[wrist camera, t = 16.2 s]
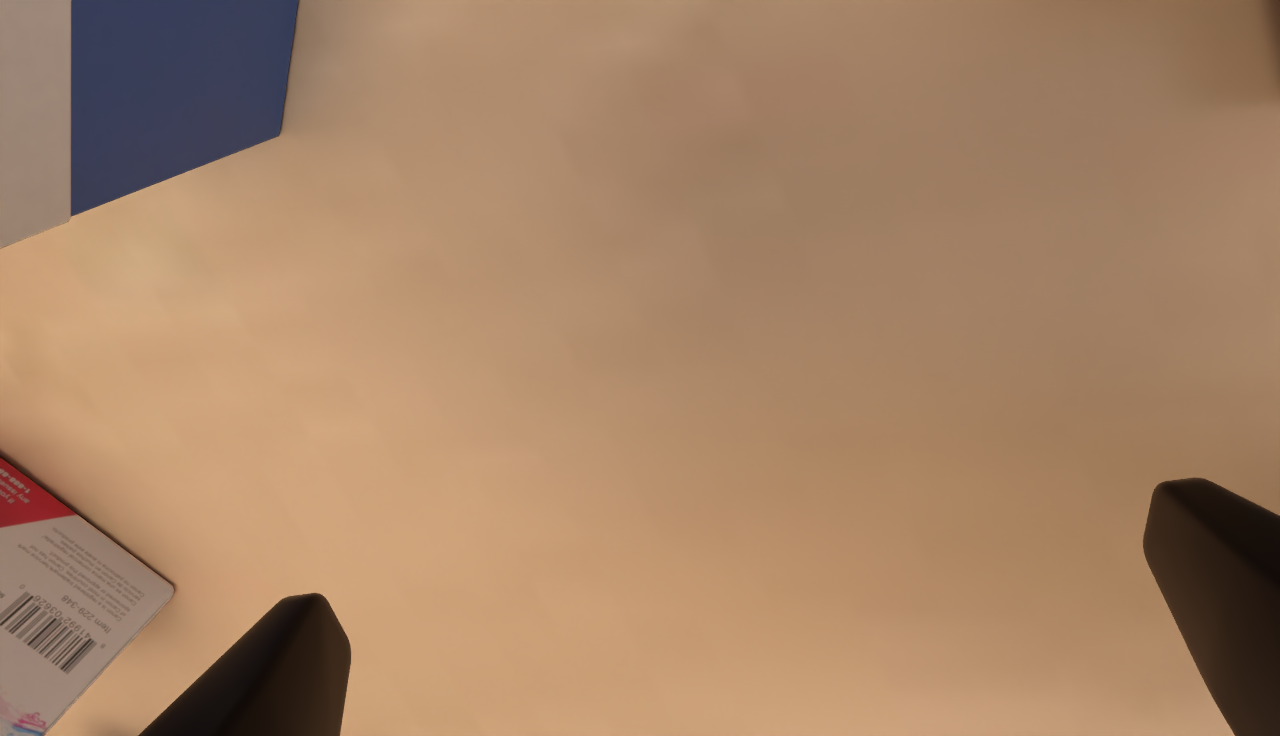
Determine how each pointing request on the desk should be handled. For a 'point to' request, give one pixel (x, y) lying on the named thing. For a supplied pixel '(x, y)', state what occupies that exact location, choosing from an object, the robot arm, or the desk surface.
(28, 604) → the ink box
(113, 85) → the box
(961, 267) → the desk surface
